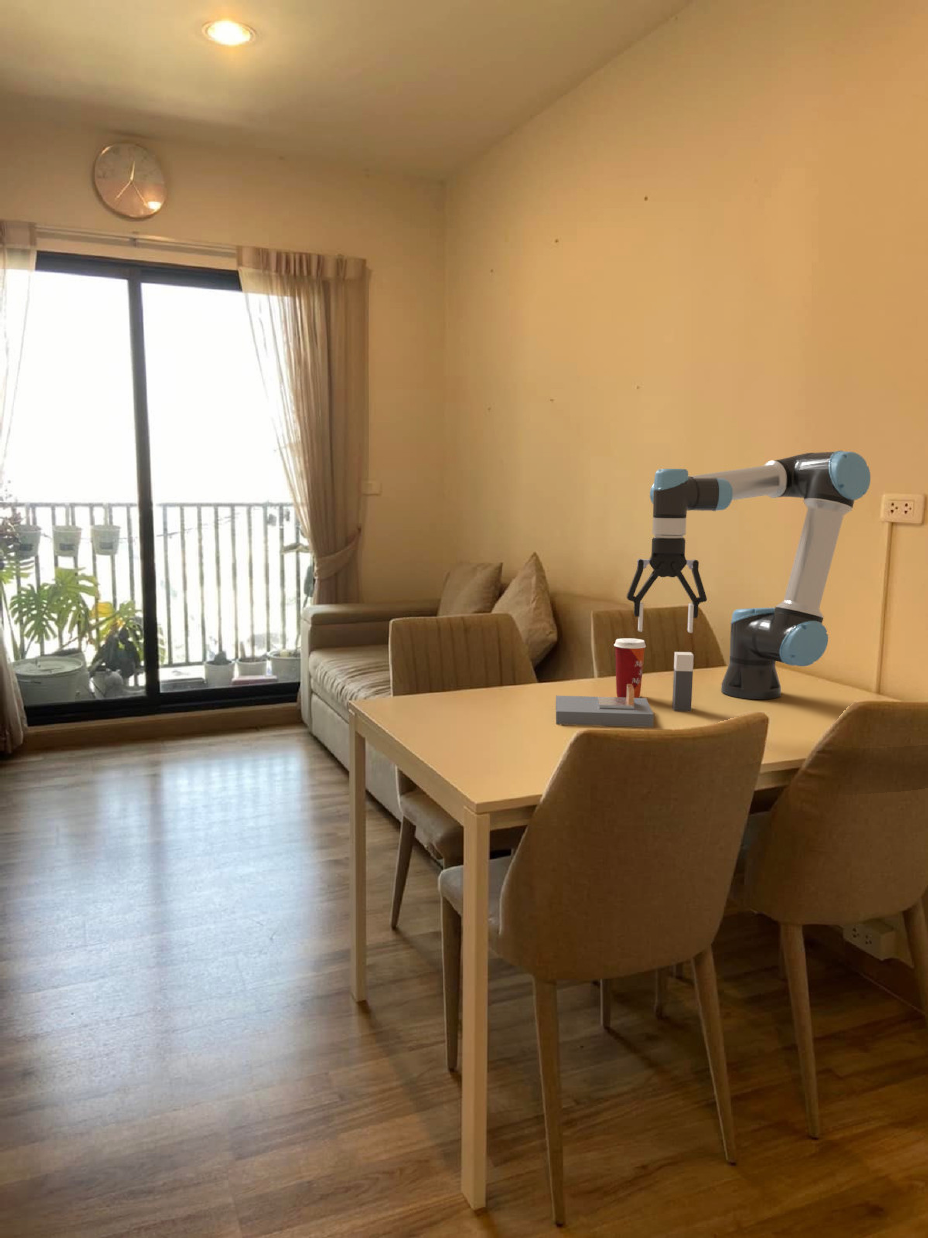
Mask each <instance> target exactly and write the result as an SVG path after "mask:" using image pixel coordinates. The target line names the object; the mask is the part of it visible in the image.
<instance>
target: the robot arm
mask: <svg viewBox="0 0 928 1238" xmlns="http://www.w3.org/2000/svg"><path fill="white" fill-rule="evenodd" d="M654 474H655V475H654V478H653V484H652V485H651V487H650V490H649V498H650V502H651V503H652V505H653V506H652V507H653V508H652V531H651V532H652V535H653V536H654V537H652V539H651V555H650V558H648V559H647V558H646V559H642V558H638V559H637V561H636V566H637V567H636V569H635V570H636V571H635V574H634V576H633V578H632V581H631V583H630V586H629V589H628V591H627V593H626V599H627V600H628V601H631V602H633V615H634V617H637V620H638V621H637V622H638V623H637V631H638V632H641V633H642V632H643V627H644V625H643V624H644V623H643V622H644V603H643V602H642V600H643V598H645V596H646V594H647V593H648V591H649V589H650V588H651V587H652V585H654V583H655V581H656V580H657V579H658V578H659V577H660V578H666V577H669V578H677V580H678V581H679V583H680V585H681V586H682V587H683V589H684V591H685V592H686V594H687V595H688V597H689V599H690V601H691V602H690V603H688V609H687V610H688V612H687V632H688V633H689V634H690V633H691V634H693V633H694V631H693V630H694V619H697V618H698V617H699V605H700V604H701V603H705V602H707V601H708V597H707V595H706V591H705V588H704V584H703V581H702V577H701V574H700V572H699V563H700V562H699V560H696V559H687V558H686V555H685V554H686V539H685V537H684V536H685V535H686V534H687V514H688V513H687V512H688V511H701V512H703V511H707V512H709V511H710V512H711V511H712V512H716V511H723V510H726V509H727V508H728V507H729V506H730V505H731V503H732V501H735V500H737V501H738V500H743V499H749V498H750V499H751V498H757V497H764V496H767V497H769V498H771V499H776V498H783V497H784V498H797V499H798V498H800V499H803V500H802V501H803V503H804V505H805V506H806V509H807V510H806V514H805V517H804V522H803V525H802V528H801V534H800V535H799V536H800V538H799V541H798V545H797V549H796V552H795V555H794V560H793V564H792V567H791V571H790V575H789V579H788V583H787V586H786V591H785V595H784V598H783V601H781V602H780V603H779V604H776V605H775V607H751V608H750V607H749V608H737V609H735V610H733V612H732V616H731V621H730V637H729V639H730V640H729V641H730V642H729V644H730V645H729V664H728V666H727V669H726V671H725V674H724V676H723V678H722V682H721V689H720V691H721V693H722V694H724V695H727V696H730V697H734V698H740V699H745V700H746V699H747V700H773V699H778V698H779V697H781V696H782V695H781V693H782V687H781V683H780V680H779V675H778V672H777V668H776V662H779V663H782V664H785V665H789V666H796V667H807V666H810V665H813V664H814V663H815V662H817V661H819V659H820V658H822V656H823V655H824V654H825V651H826V650H827V646H828V644H829V634H828V633H827V632H828V630H827V628H826V627H825V625H823V621H824V617H825V616H824V615H823V614H822V612H821V610H820V606H821V604H822V599H823V595H824V591H825V588H826V585H827V581H828V577H829V573H830V569H831V566H832V561H833V557H834V554H835V550H836V546H837V542H838V539H839V534H840V530H841V528H842V523H843V520H844V516H845V515H847V514H848V513H849V512H851V511H852V510H853V507H854V504H855V501H856V500H859V499H861V498H862V497H864V495H866V494H867V492H868V490H869V488H870V484H871V472H870V468H869V465H867V461H866V460H865V458H864V457H863V456H862V455H861V454H859V453H857V452H854V451H843V450H837V451H825V452H823V451H819V452H805V453H801V454H797V455H793V456H789V457H785V458H781V459H780V458H779V459H774V460H769V461H767V462H766V463H764V465H761V466H754V467H745V468H738V469H731V470H724V471H717V472H710V473H704V474H696V475H695V474H694V475H689V471H688V469H685V468H660V469H657V470H656V472H655V473H654ZM648 565H649V566H650V567H651V569H652V572H651V574H650V575H649V576H648V578H647V580H646V581H645V582H644V584H643V585H642V587H641V588H640V589H639V591H638V592H637V594H636V595H635V593H636V591H637V587H638V585H639V583H640V580H641V578H642V575H643V573H644V572H643V571H644V570H645V569H646V568H647V567H648ZM686 565H687V566H688V569H689V570H691V573H692V577H693V580H694V584H695V587H696V590H697V594H698V597H697V595H696V594H695V592H694V590H693V589H692V587H691V585H690V584H689V583H688V581H687V578H686V577H685V575H684V574H683V572H682V571H683V569H684V568H685V567H686Z"/></svg>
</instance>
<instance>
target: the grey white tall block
mask: <svg viewBox="0 0 928 1238" xmlns="http://www.w3.org/2000/svg"><path fill="white" fill-rule="evenodd" d="M694 657H695V656H694V654H693V652H690V651H674V657H673V677H672V678H673V679H672V701H671V702H672V705H671V707H672V709H673V711H674V712H692V701H693V700H692V699H693V675H694V674H693V673H694V659H695V658H694Z"/></svg>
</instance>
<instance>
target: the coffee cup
mask: <svg viewBox="0 0 928 1238" xmlns="http://www.w3.org/2000/svg"><path fill="white" fill-rule="evenodd" d="M613 646H614V648H615V650H614V652H615V689H616V697H624V698H626V696H627V684H632V685H633V688H634V698H641V691H642V681H643V680H642V679H643V668H644V658H645V657H644V656H645V648H646V647H647V645H646V643H645V640H644V639H639V638H630V637H629V638H628V637H627V638H626V637H624V638H616V640H615V643H614V644H613Z"/></svg>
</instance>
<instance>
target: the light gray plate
mask: <svg viewBox="0 0 928 1238" xmlns="http://www.w3.org/2000/svg"><path fill="white" fill-rule="evenodd" d="M597 697H598V704H599V708H616V709H634V688H633V685H632V684H627V696H626V698H620V697H617V696H616V697H615V696H614V697H613V696H597Z"/></svg>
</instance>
